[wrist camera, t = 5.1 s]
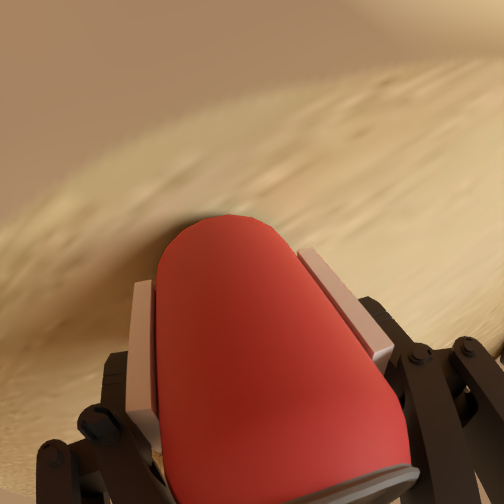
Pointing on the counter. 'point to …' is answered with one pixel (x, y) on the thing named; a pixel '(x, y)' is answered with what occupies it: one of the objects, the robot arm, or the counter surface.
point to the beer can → (266, 380)
